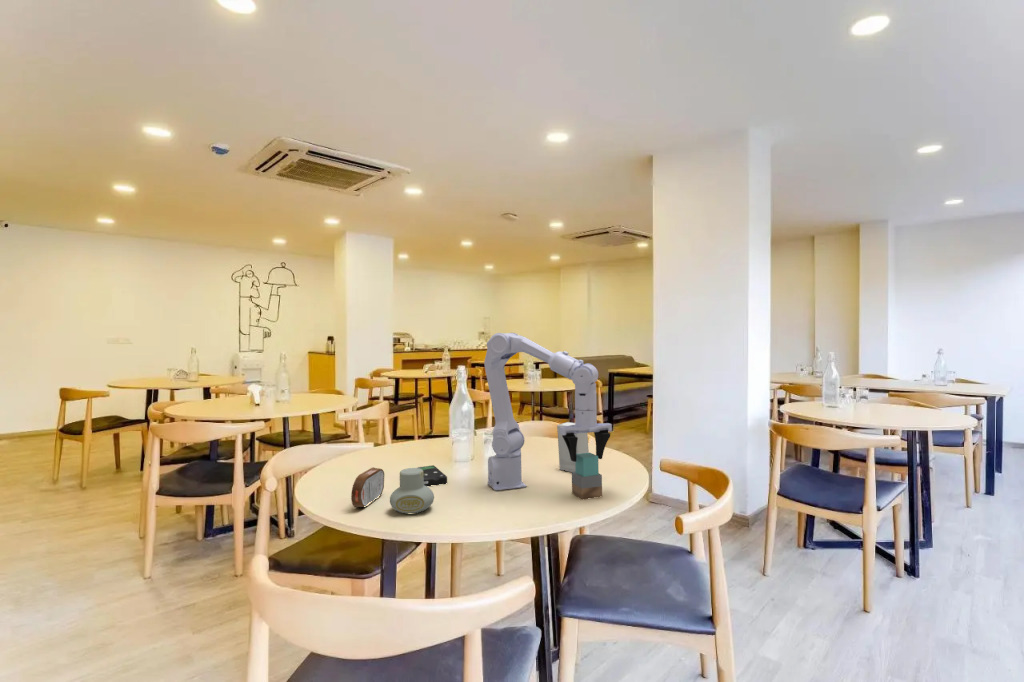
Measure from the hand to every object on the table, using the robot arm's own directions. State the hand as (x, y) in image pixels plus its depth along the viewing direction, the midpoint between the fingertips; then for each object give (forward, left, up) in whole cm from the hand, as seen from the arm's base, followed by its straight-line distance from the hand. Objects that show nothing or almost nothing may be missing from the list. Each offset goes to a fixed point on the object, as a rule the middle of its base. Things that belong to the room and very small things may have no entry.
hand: (586, 459), depth 136 cm
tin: (-56, +15, -10) cm, 59 cm away
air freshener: (-46, +5, -10) cm, 47 cm away
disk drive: (-39, +31, -10) cm, 51 cm away
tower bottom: (0, 0, -10) cm, 10 cm away
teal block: (0, 0, -4) cm, 4 cm away
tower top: (0, 0, -7) cm, 7 cm away
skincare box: (+7, +24, -10) cm, 27 cm away
